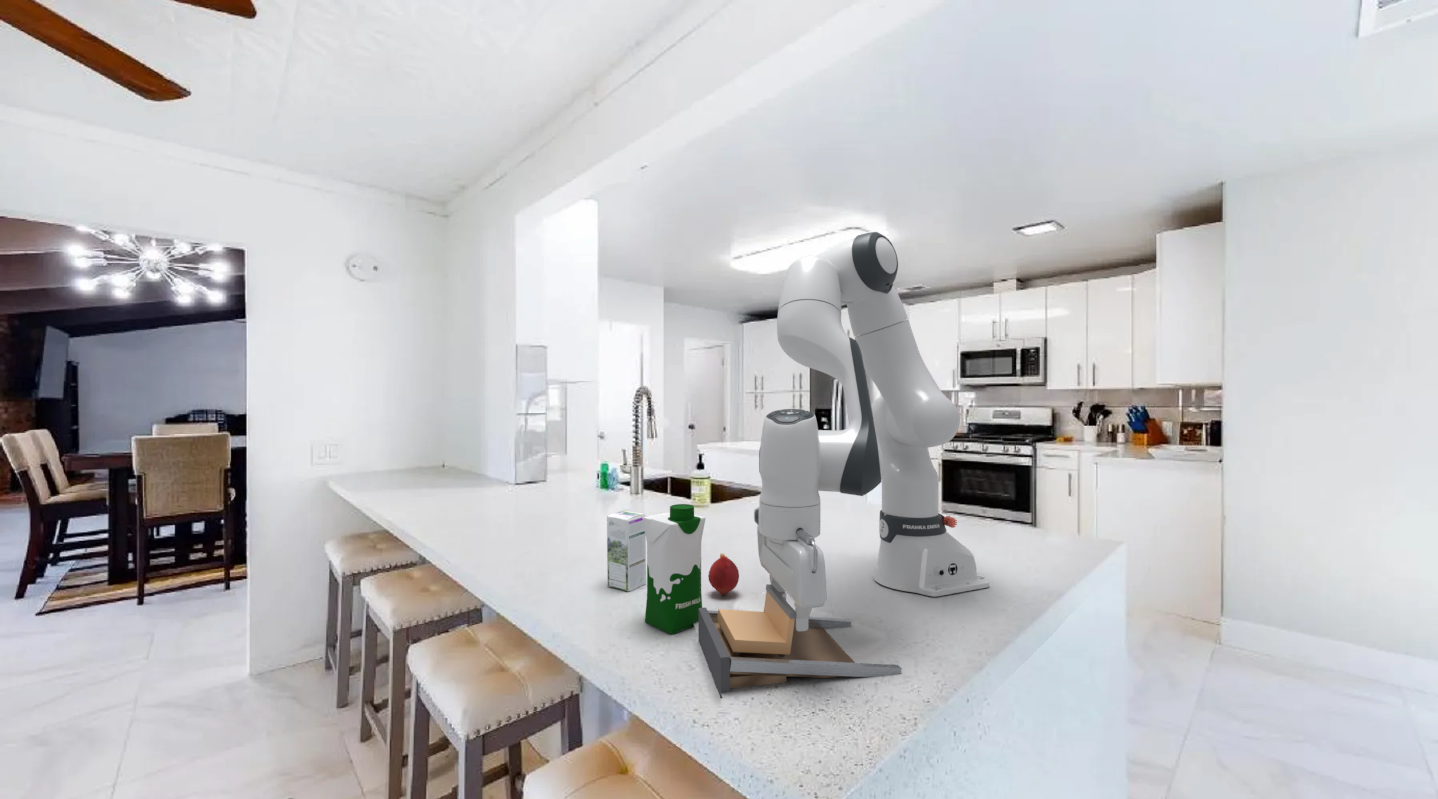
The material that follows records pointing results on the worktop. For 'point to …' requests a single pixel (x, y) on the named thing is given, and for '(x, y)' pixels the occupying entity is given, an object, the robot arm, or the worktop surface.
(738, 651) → the cart
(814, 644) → the dock
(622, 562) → the syrup box
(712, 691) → the worktop surface
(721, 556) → the onion
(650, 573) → the milk carton
